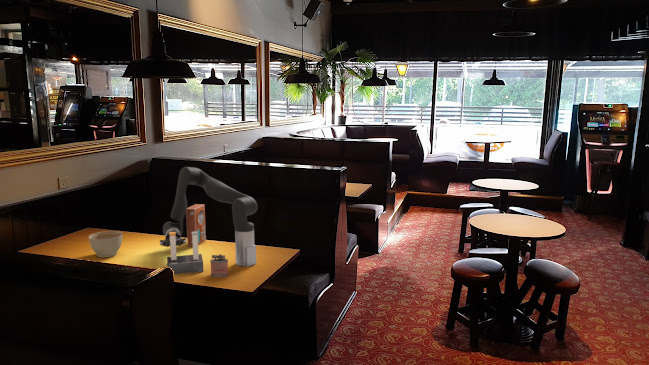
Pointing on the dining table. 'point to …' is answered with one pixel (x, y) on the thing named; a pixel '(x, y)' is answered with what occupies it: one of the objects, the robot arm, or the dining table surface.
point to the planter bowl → (106, 243)
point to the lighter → (219, 266)
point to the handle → (195, 245)
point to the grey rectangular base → (185, 264)
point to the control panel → (196, 223)
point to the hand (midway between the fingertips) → (173, 246)
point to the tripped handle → (173, 245)
